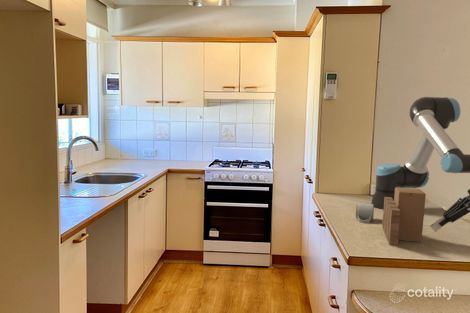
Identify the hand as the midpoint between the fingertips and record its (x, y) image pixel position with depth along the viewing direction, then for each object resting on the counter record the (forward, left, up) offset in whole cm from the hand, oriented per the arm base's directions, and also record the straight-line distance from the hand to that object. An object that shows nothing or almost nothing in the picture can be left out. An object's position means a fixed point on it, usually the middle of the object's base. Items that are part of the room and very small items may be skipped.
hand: (432, 229), depth 158 cm
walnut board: (+12, -11, -5) cm, 17 cm away
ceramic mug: (+2, -33, -5) cm, 33 cm away
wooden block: (+7, -7, -5) cm, 11 cm away
